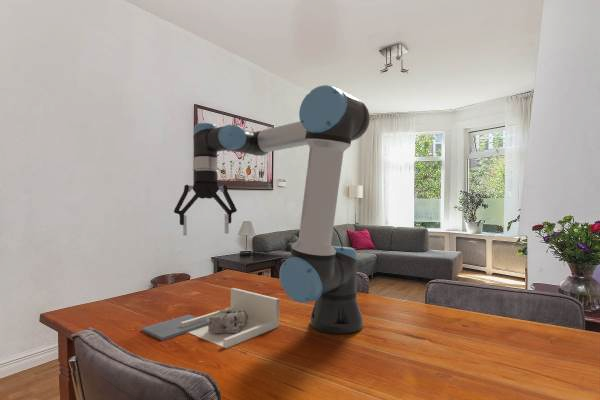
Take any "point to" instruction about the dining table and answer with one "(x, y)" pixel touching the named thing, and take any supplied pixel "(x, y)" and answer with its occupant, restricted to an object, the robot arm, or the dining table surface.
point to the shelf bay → (260, 321)
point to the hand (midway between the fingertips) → (206, 234)
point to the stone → (227, 321)
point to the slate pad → (172, 327)
